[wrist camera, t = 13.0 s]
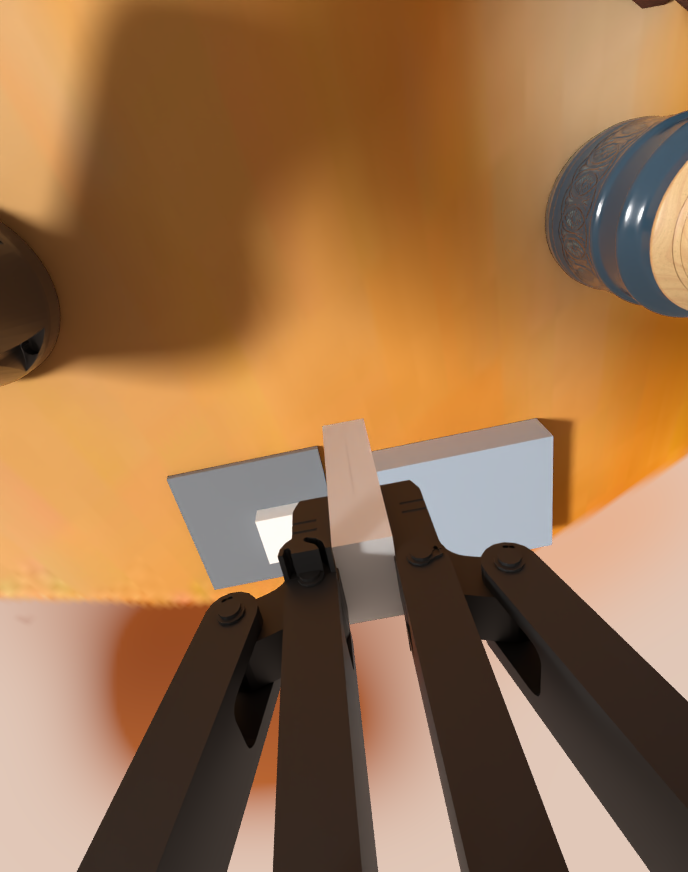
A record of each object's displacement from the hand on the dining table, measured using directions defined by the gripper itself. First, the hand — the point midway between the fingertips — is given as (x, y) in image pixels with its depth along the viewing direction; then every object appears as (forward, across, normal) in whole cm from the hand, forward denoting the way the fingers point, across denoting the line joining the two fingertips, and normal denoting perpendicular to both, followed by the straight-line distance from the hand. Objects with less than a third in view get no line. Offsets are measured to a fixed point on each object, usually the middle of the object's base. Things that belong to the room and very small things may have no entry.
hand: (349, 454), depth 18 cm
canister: (+30, +26, +2) cm, 39 cm away
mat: (+29, -11, -24) cm, 39 cm away
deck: (+29, +9, -24) cm, 39 cm away
